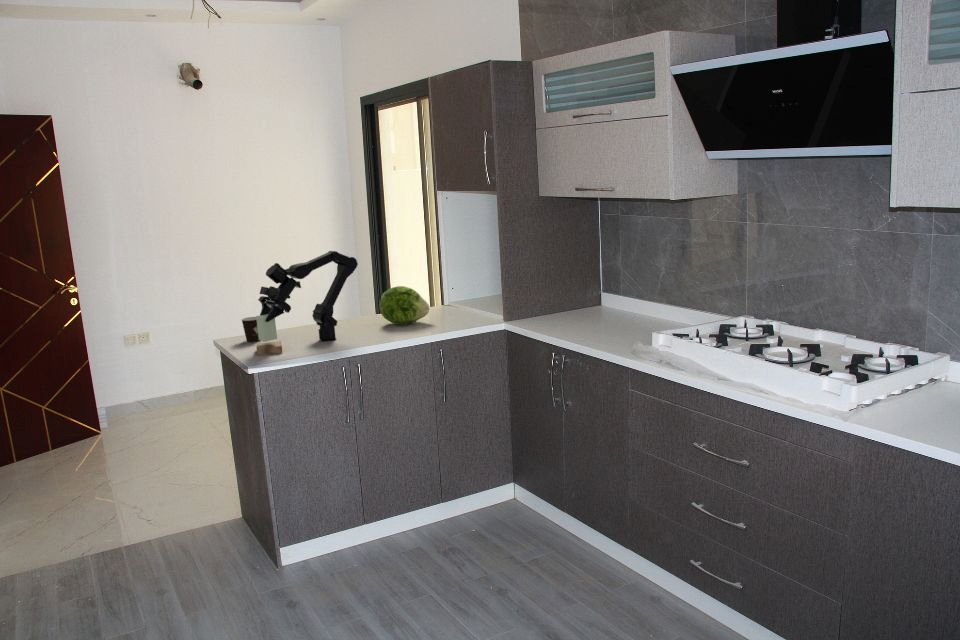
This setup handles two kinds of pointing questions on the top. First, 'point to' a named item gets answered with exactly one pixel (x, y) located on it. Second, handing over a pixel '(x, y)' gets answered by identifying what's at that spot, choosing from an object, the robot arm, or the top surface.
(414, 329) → the top surface
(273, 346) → the walnut block
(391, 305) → the lettuce
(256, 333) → the coffee mug
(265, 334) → the tea tin
